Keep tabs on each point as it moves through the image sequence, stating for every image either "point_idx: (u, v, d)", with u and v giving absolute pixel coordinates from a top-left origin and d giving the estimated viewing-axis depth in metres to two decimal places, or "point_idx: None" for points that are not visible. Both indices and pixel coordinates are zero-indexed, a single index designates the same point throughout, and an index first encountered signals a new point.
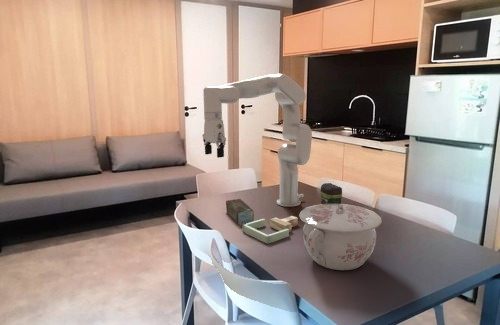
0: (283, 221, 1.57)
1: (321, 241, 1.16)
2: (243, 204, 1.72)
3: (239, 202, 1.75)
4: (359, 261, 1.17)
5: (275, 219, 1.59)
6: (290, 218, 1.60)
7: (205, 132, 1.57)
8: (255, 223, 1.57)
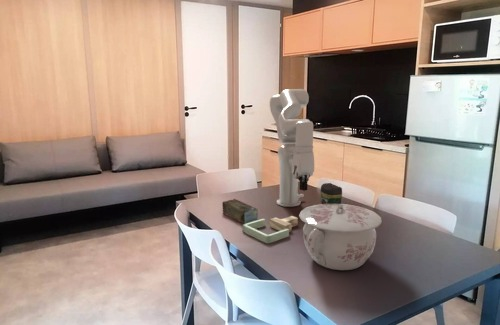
0: (283, 221, 1.57)
1: (321, 241, 1.16)
2: (243, 204, 1.72)
3: (237, 202, 1.75)
4: (359, 261, 1.17)
5: (275, 219, 1.59)
6: (290, 218, 1.60)
7: (302, 166, 1.56)
8: (255, 223, 1.57)
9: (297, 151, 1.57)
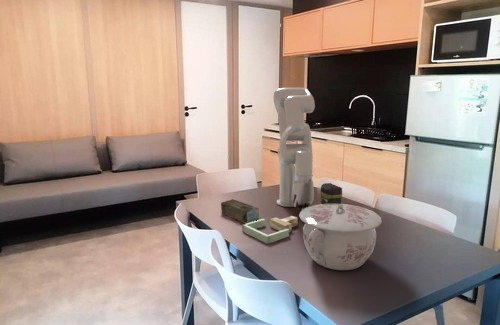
0: (283, 221, 1.57)
1: (321, 241, 1.16)
2: (242, 203, 1.73)
3: (236, 202, 1.74)
4: (359, 261, 1.17)
5: (275, 219, 1.59)
6: (290, 218, 1.60)
7: (302, 195, 1.59)
8: (255, 223, 1.57)
9: (297, 180, 1.59)
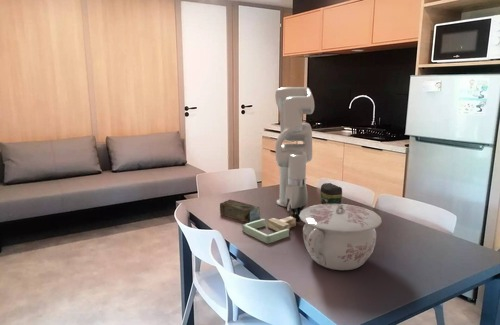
0: (281, 221, 1.56)
1: (321, 241, 1.16)
2: (242, 203, 1.73)
3: (236, 202, 1.74)
4: (359, 261, 1.17)
5: (273, 219, 1.58)
6: (288, 218, 1.59)
7: (295, 199, 1.57)
8: (255, 223, 1.57)
9: (290, 184, 1.57)
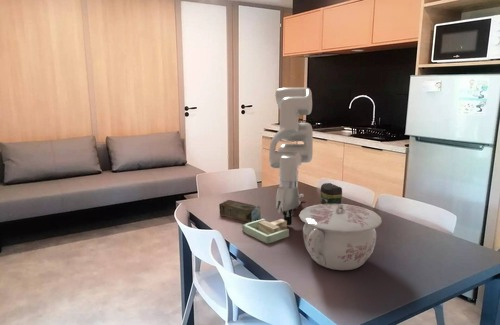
0: (272, 224, 1.53)
1: (321, 241, 1.16)
2: (242, 203, 1.73)
3: (235, 202, 1.74)
4: (359, 261, 1.17)
5: (264, 222, 1.55)
6: (279, 221, 1.56)
7: (286, 202, 1.53)
8: (255, 223, 1.57)
9: (281, 186, 1.54)
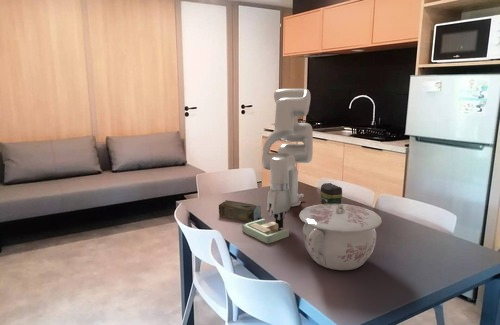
0: (263, 227, 1.50)
1: (321, 241, 1.16)
2: (241, 203, 1.73)
3: (234, 202, 1.74)
4: (359, 261, 1.17)
5: (254, 225, 1.52)
6: (270, 224, 1.53)
7: (277, 204, 1.50)
8: None
9: (272, 188, 1.51)
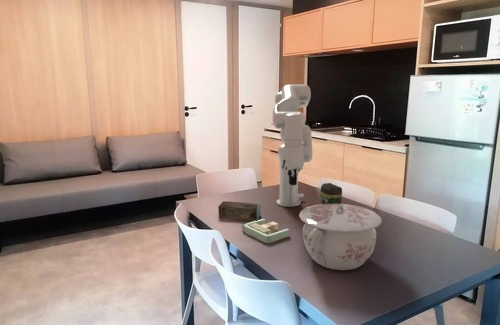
0: (263, 227, 1.50)
1: (321, 241, 1.16)
2: (240, 203, 1.74)
3: (233, 203, 1.74)
4: (359, 261, 1.17)
5: (254, 225, 1.52)
6: (270, 224, 1.53)
7: (291, 160, 1.52)
8: None
9: (286, 145, 1.52)
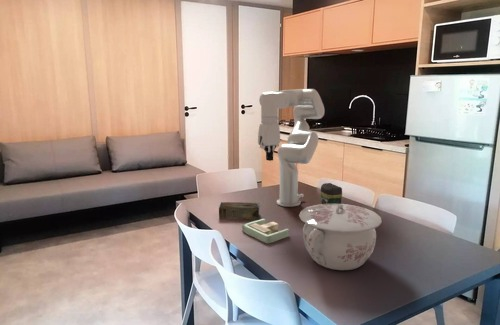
0: (263, 227, 1.50)
1: (321, 241, 1.16)
2: (239, 203, 1.74)
3: (232, 203, 1.73)
4: (359, 261, 1.17)
5: (254, 225, 1.52)
6: (270, 224, 1.53)
7: (267, 137, 1.62)
8: None
9: (262, 122, 1.62)
